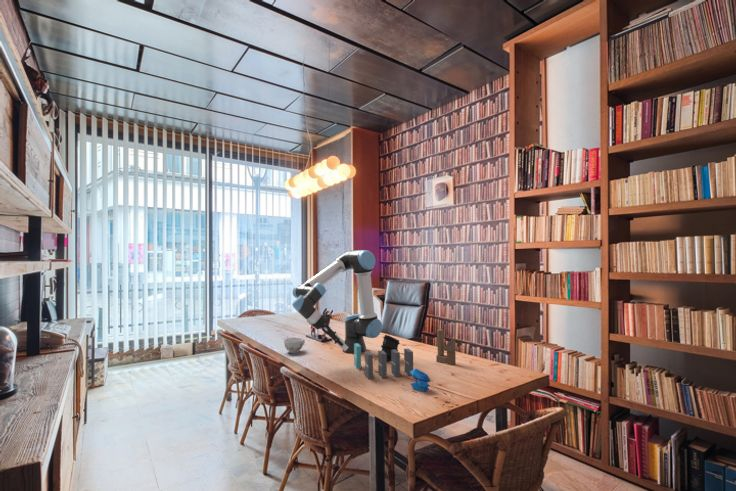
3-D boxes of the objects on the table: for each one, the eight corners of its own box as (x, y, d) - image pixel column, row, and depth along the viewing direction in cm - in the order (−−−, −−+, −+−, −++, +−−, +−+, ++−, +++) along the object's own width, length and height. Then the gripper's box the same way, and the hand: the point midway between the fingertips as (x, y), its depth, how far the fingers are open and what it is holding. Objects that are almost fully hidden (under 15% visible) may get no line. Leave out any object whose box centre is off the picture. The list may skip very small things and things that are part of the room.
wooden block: (452, 365, 202) (451, 332, 202) (436, 361, 210) (435, 329, 210) (456, 364, 204) (455, 331, 205) (440, 360, 212) (439, 329, 213)
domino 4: (408, 376, 184) (408, 352, 185) (404, 371, 191) (404, 348, 192) (413, 375, 185) (413, 351, 185) (408, 371, 192) (408, 348, 192)
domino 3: (395, 377, 183) (395, 353, 183) (391, 373, 190) (391, 349, 190) (400, 376, 183) (399, 352, 184) (395, 372, 190) (395, 349, 191)
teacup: (291, 355, 225) (291, 342, 225) (279, 352, 233) (279, 339, 234) (310, 351, 236) (310, 338, 237) (298, 348, 245) (298, 335, 245)
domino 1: (368, 379, 180) (368, 355, 180) (365, 375, 186) (364, 351, 187) (373, 379, 180) (373, 354, 181) (369, 374, 187) (369, 351, 187)
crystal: (429, 379, 159) (405, 368, 166) (425, 397, 160) (401, 386, 167) (436, 374, 165) (413, 364, 172) (432, 392, 166) (409, 381, 173)
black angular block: (376, 360, 207) (383, 334, 212) (390, 366, 216) (397, 340, 221) (381, 361, 205) (388, 335, 210) (395, 367, 213) (402, 341, 218)
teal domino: (356, 369, 197) (356, 346, 198) (354, 365, 204) (353, 343, 204) (361, 368, 198) (361, 346, 198) (358, 364, 205) (358, 343, 205)
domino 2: (382, 378, 181) (381, 354, 182) (378, 374, 188) (378, 350, 188) (386, 378, 182) (386, 353, 182) (383, 373, 189) (382, 350, 189)
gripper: (310, 320, 208) (336, 346, 210) (313, 329, 183) (343, 357, 186) (319, 311, 209) (345, 336, 212) (324, 318, 185) (353, 346, 188)
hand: (344, 346), depth 199 cm, fingers open, 13 cm apart
